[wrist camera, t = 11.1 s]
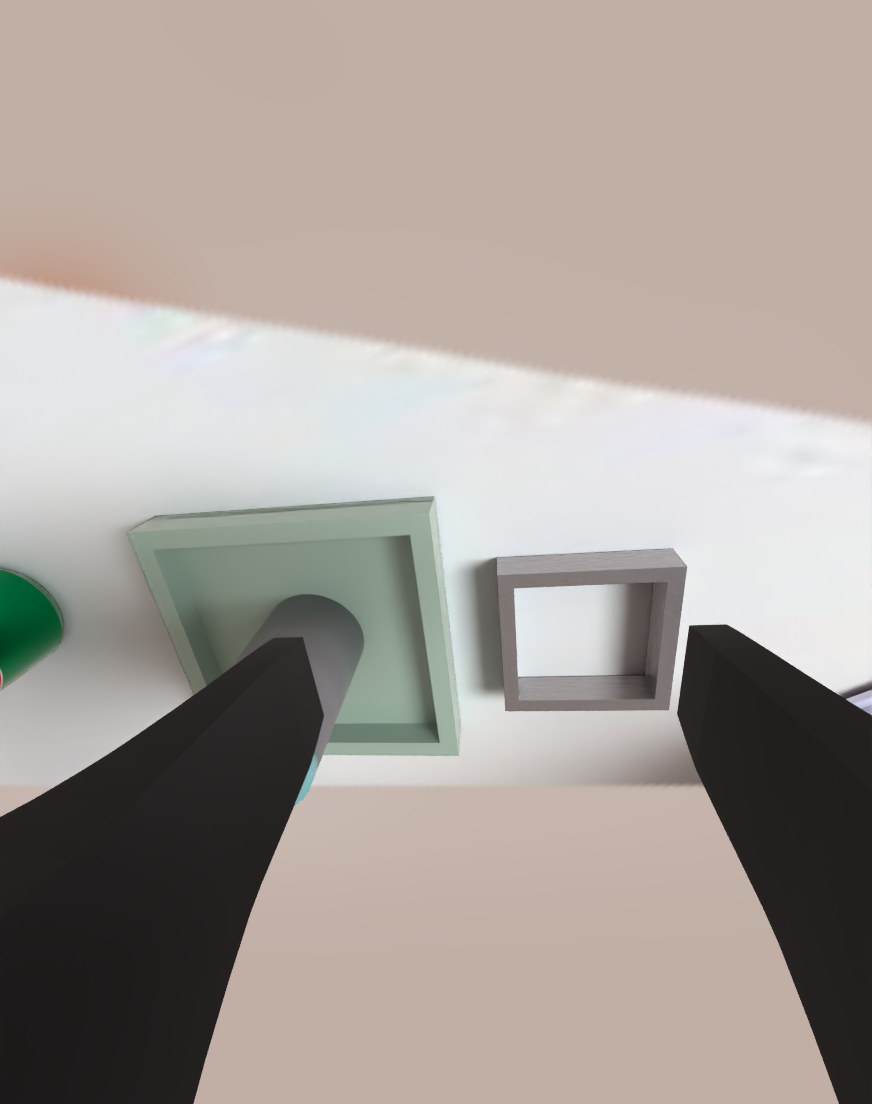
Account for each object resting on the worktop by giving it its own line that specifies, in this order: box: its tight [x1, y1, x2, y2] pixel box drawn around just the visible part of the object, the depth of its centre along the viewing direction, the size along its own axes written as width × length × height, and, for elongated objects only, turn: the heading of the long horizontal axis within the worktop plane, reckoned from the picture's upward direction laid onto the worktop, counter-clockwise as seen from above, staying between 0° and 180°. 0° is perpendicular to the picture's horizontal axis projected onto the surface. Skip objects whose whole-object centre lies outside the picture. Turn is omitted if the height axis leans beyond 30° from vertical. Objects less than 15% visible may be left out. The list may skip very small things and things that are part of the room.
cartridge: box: [230, 594, 364, 805], centre depth 18 cm, size 4×4×7 cm
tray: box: [127, 497, 461, 756], centre depth 21 cm, size 12×12×2 cm
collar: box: [497, 549, 687, 711], centre depth 20 cm, size 7×7×2 cm
